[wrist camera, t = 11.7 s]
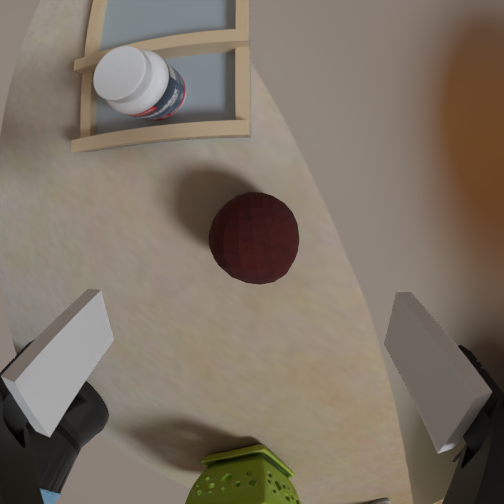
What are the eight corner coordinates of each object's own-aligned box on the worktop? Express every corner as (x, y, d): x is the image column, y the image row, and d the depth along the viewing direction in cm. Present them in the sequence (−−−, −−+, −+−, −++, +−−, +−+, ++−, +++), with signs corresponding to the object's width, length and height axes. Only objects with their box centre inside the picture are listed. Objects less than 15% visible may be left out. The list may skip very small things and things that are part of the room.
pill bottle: (151, 132, 24) (104, 126, 16) (125, 92, 23) (73, 75, 14) (198, 98, 23) (168, 73, 15) (169, 58, 22) (132, 24, 13)
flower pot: (266, 432, 37) (265, 504, 25) (303, 466, 41) (308, 524, 29) (192, 450, 40) (179, 511, 28) (236, 481, 44) (232, 534, 32)
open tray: (90, 151, 25) (71, 152, 22) (104, -15, 18) (91, -27, 15) (250, 137, 25) (249, 134, 21) (249, -42, 18) (248, -60, 15)
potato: (290, 183, 26) (300, 194, 19) (296, 263, 29) (306, 297, 22) (210, 192, 27) (193, 205, 20) (221, 270, 29) (210, 305, 22)
